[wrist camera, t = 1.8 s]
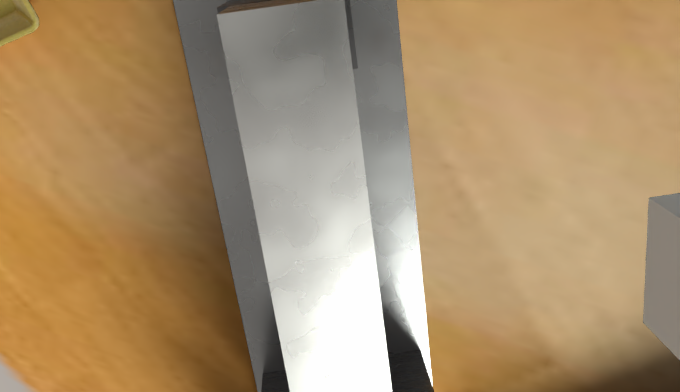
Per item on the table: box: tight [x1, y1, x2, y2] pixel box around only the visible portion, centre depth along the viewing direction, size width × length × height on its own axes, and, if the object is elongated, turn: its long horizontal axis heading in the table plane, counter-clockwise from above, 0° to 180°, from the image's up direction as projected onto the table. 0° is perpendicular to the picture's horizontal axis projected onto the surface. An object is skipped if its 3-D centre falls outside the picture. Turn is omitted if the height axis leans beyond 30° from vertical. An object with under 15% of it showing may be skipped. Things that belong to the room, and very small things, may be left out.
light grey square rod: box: [217, 0, 392, 392], centre depth 26 cm, size 26×4×4 cm, turn 7°
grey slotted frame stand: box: [173, 0, 434, 392], centre depth 28 cm, size 36×10×15 cm, turn 7°
